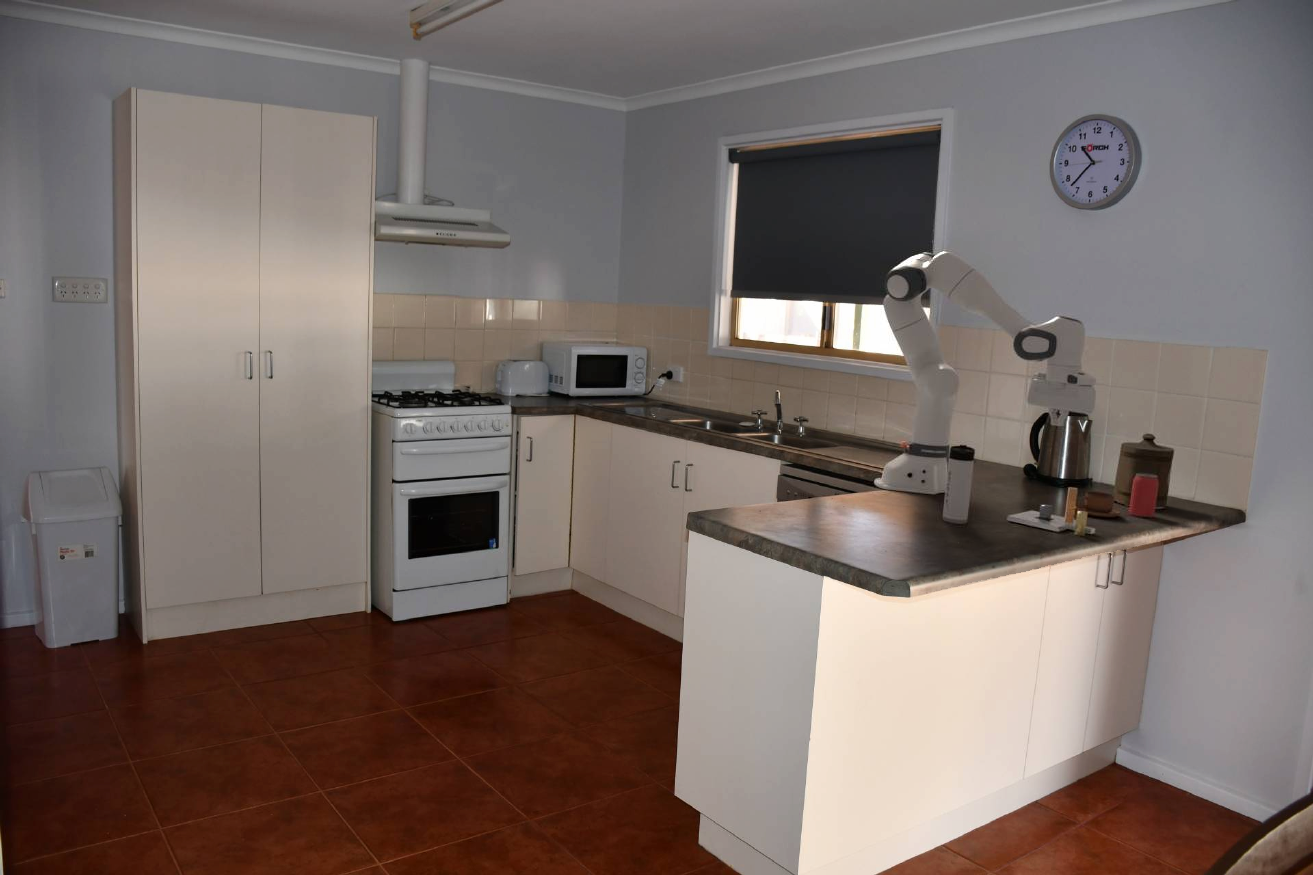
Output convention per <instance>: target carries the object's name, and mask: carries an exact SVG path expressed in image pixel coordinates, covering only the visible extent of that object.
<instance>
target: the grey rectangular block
mask: <svg viewBox="0 0 1313 875" xmlns="http://www.w3.org/2000/svg"><path fill="white" fill-rule="evenodd" d="M1038 512H1039V519H1042V520H1047V521H1050V520H1051V515H1053V514H1052V513H1053V505H1049V504H1040V505H1039V511H1038Z"/></svg>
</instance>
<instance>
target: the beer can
mask: <svg viewBox="0 0 1313 875" xmlns="http://www.w3.org/2000/svg"><path fill="white" fill-rule="evenodd" d="M1157 477H1158V476H1156V475H1152V474H1146V473H1137V474H1136V476H1135V478H1134V480H1133V486H1132V493H1131V500H1130V507H1128V508H1129V509H1128V513H1129V515H1131V516H1133V515H1135V516H1134V517H1137V516H1139V517H1138V518H1143V517H1151V518H1153V517H1154V516H1155V511H1156V510H1155V506H1156V499H1157V492H1158V485H1159V483H1158V479H1157Z"/></svg>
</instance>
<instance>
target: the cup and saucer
mask: <svg viewBox="0 0 1313 875" xmlns="http://www.w3.org/2000/svg"><path fill="white" fill-rule="evenodd" d="M1083 500H1084V503H1083V504H1082V501H1083ZM1113 500H1114V496H1113V494H1110V493H1106V492H1100V491H1087V492H1085V496H1081V497H1080V498H1079V499H1078V504H1076V506H1075V510H1077V511H1084V512H1087V513H1088V514H1087V516H1091V517H1096V518H1105V517H1106V519H1107V518H1117V517H1118V516H1120V515H1121V513H1122V511H1121V510H1120V509H1117V508H1114V501H1113Z"/></svg>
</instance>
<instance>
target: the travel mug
mask: <svg viewBox="0 0 1313 875" xmlns="http://www.w3.org/2000/svg"><path fill="white" fill-rule="evenodd" d="M975 454H976V450H975V449H974V448H973V447H971V446H967V445H966V444H959V445H953V446H952V445H951V446H950V453H949V460H948V463H947V481H946V491H945V492H944V501H943V511H942V513H943V514H942V520H943V521H944V522H945V523H950V524H954V525H957V524H959V525H965V524H967V522H968V517H969V508H970V500H971V499H970V498H971V490H972V489H971V488H972V484H973V482H972V480H973V472H974V465H975V464H974V463H975Z"/></svg>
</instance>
